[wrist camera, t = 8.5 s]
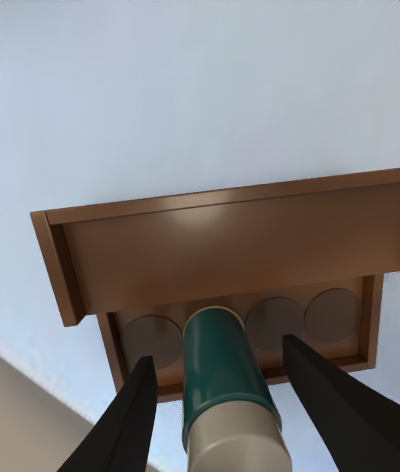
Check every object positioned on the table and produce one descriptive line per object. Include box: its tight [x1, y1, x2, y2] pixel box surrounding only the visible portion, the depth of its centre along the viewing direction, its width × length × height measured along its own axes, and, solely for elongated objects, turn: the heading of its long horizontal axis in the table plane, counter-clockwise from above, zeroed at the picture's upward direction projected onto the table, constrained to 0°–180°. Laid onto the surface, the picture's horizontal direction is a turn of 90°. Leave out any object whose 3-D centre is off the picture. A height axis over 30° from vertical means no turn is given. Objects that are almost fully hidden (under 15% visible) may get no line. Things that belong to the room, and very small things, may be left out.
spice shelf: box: [30, 168, 400, 404], centre depth 12 cm, size 13×17×5 cm
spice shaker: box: [182, 308, 292, 472], centre depth 9 cm, size 4×4×6 cm
